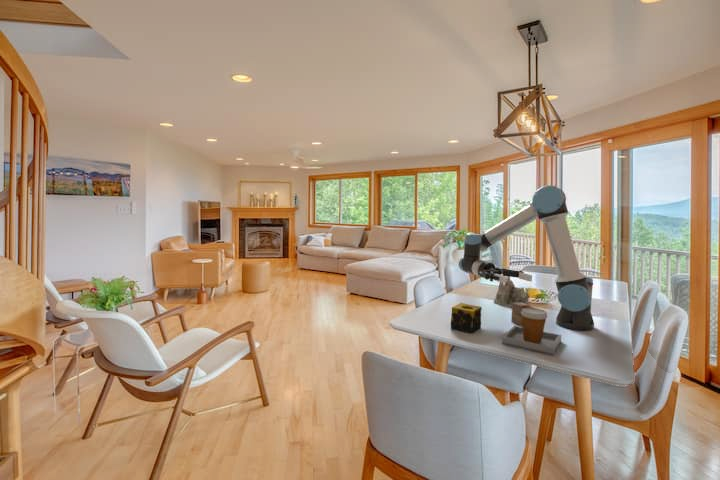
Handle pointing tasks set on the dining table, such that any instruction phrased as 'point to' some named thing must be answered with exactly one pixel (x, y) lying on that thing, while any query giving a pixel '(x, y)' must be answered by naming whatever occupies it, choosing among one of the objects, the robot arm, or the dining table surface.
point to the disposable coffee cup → (533, 324)
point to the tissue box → (466, 318)
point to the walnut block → (518, 312)
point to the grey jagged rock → (510, 294)
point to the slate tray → (517, 340)
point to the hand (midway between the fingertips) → (518, 279)
